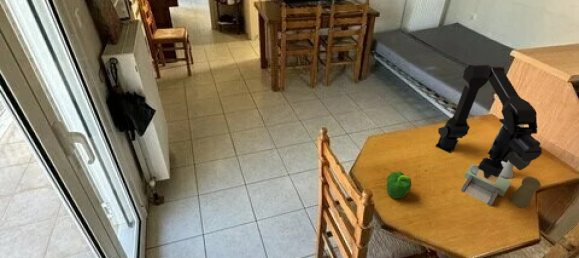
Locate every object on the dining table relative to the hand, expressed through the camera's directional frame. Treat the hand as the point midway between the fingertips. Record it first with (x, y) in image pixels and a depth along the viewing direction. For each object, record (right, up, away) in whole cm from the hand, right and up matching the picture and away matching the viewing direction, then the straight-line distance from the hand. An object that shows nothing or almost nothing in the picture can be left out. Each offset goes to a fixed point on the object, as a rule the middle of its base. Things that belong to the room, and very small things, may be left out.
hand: (488, 174), depth 111 cm
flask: (+15, -2, +14) cm, 21 cm away
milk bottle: (+22, +7, +26) cm, 35 cm away
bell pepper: (-31, -8, +6) cm, 33 cm away
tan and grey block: (0, -1, +1) cm, 1 cm away
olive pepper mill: (+13, -10, +2) cm, 17 cm away
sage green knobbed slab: (+6, -4, +10) cm, 12 cm away
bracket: (0, -8, +6) cm, 10 cm away
